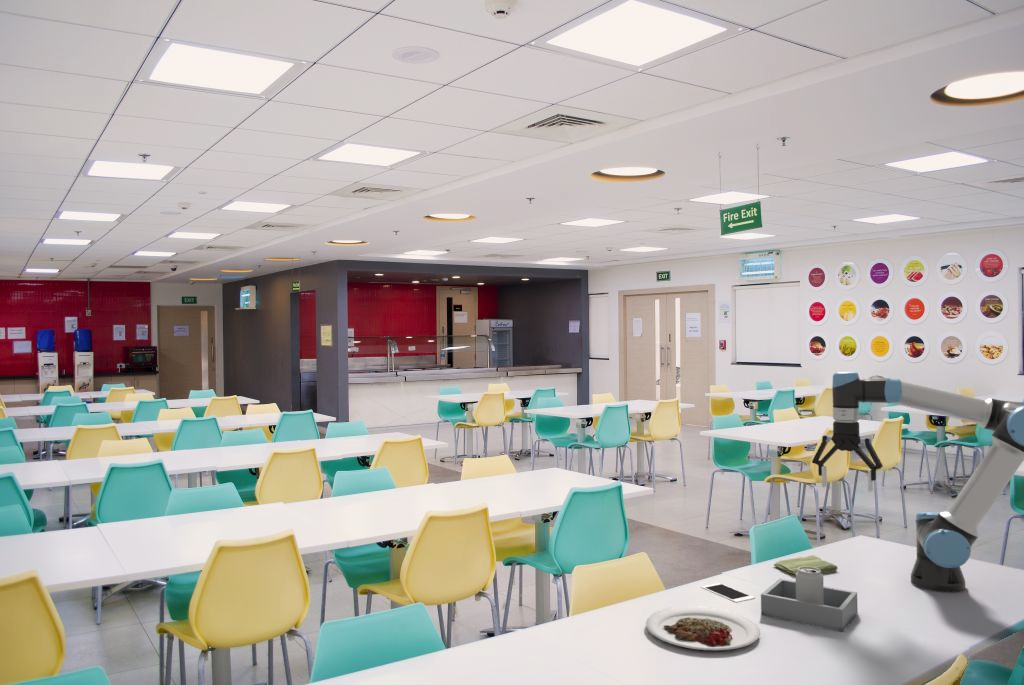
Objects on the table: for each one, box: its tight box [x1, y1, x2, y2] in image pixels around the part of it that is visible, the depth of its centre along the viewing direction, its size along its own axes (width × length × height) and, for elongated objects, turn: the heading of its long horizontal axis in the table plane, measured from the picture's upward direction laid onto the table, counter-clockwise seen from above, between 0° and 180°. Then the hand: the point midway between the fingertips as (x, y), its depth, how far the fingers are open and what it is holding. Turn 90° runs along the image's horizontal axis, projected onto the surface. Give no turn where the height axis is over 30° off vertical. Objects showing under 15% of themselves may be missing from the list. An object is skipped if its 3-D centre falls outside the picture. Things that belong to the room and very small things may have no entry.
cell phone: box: [700, 582, 756, 603], centre depth 234 cm, size 8×16×1 cm, turn 26°
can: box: [795, 566, 825, 605], centre depth 215 cm, size 8×8×12 cm
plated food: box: [645, 605, 761, 651], centre depth 203 cm, size 30×30×3 cm
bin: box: [760, 578, 858, 633], centre depth 215 cm, size 22×17×6 cm
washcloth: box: [773, 555, 838, 576], centre depth 256 cm, size 13×18×3 cm
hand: (847, 488), depth 235 cm, fingers open, 13 cm apart
